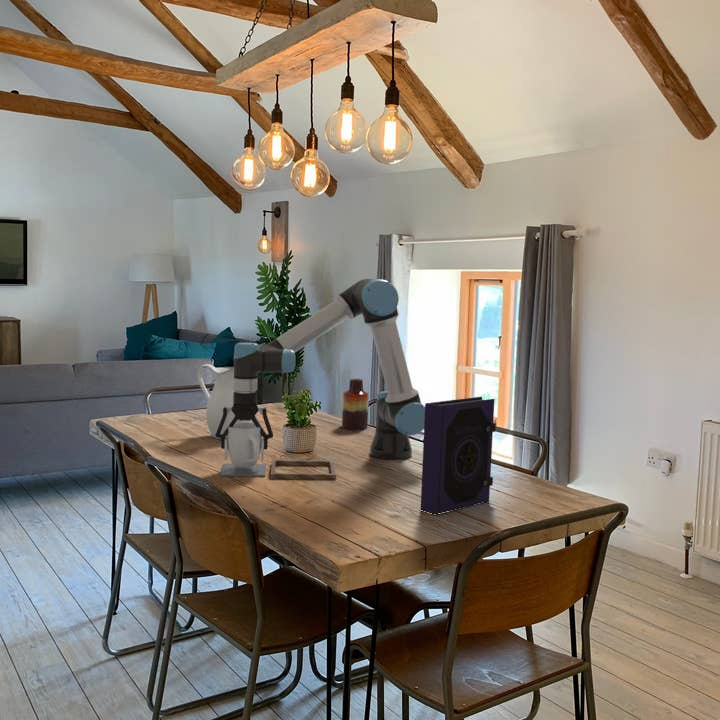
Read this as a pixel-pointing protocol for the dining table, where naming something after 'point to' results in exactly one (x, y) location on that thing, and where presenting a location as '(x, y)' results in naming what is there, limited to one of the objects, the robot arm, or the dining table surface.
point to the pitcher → (218, 397)
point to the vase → (355, 406)
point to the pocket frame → (302, 475)
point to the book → (457, 454)
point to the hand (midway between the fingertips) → (244, 459)
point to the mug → (244, 444)
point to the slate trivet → (243, 471)
